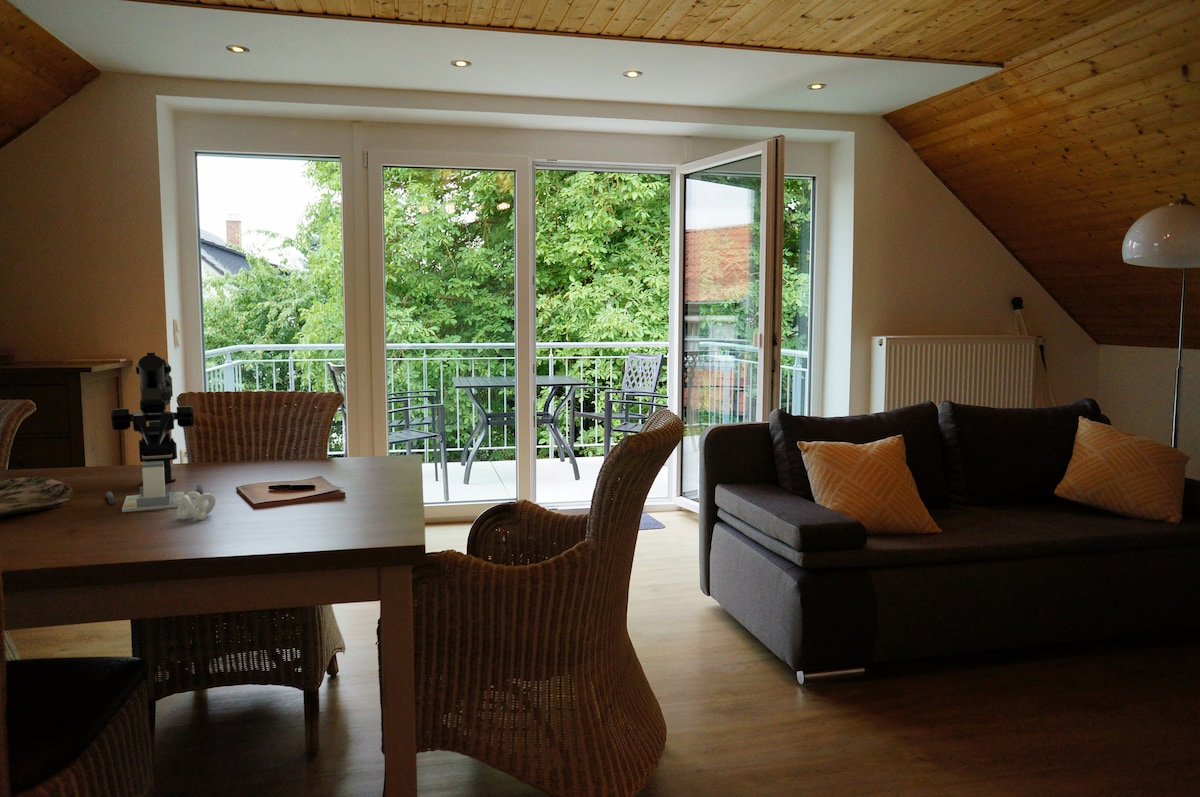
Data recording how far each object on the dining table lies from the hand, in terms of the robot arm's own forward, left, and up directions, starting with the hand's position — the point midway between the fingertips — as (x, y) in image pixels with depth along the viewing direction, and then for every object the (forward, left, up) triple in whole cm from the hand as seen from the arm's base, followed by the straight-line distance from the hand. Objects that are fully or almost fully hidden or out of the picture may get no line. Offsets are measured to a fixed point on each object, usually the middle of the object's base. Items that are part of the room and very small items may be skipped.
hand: (153, 443), depth 213 cm
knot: (+29, -11, -14) cm, 34 cm away
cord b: (-5, -9, -14) cm, 17 cm away
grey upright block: (+7, -5, -13) cm, 15 cm away
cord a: (+7, +7, -14) cm, 17 cm away
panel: (+7, -5, -14) cm, 16 cm away
